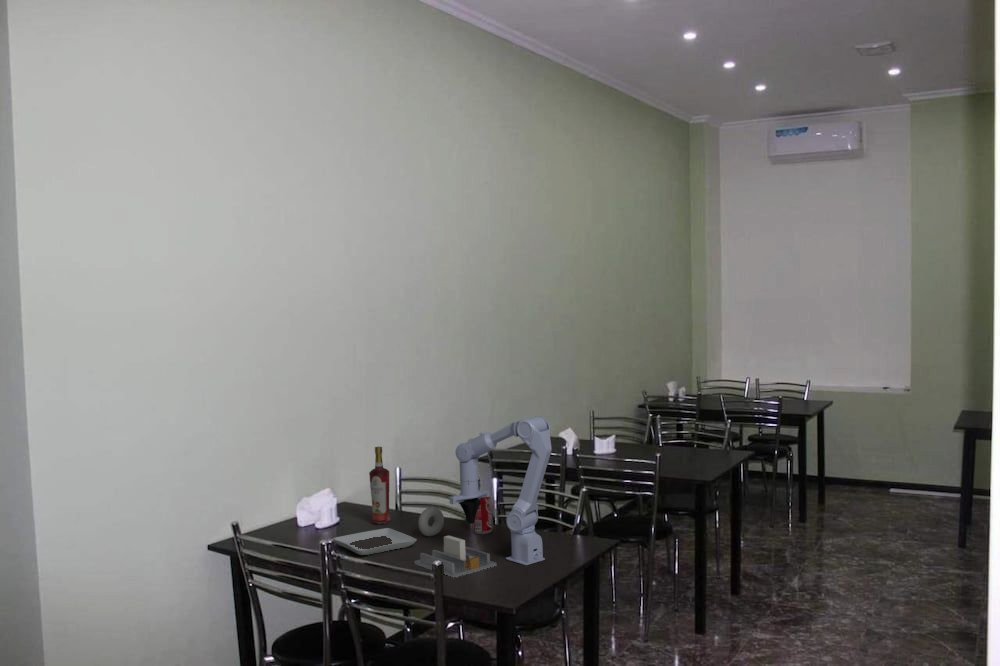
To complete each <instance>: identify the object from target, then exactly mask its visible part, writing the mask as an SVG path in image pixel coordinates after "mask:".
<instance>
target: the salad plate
mask: <svg viewBox="0 0 1000 666" xmlns="http://www.w3.org/2000/svg"><path fill="white" fill-rule="evenodd" d="M381 536H386V537H387V538H390V539H391V540H392V541H391V542H392V544H388V545H383V546H379V547H374V548H370V549H362V548H361V549H360V548H359V549H358V547H355V545H350V543H352V542H355V541H359V540H365V539H369V538H373V537H381ZM332 540H333V542H334V543H336V544H337V545H339V546H341V547H343V548H345V549H347V550H349V551H351V552H354V553H355V554H357V555H360V556H363V555H368V556H370V555H369V554H373V553H379V552H384V551H388V552H390V551H389V550H393V551H395V550H394V549H398V550H401V549H400V548H402V549H406V548H409V547H410V546H413V544H415V543H416V542H417V538H415V537H413V536H410V535H408V534H406V533H403V532H400V531H398V530H395V529H393V528H389V527H385V528H380V529H372V530H367V531H362V532H356V533H352V534H347V535H341V536H336V537H333V538H332ZM384 553H385V552H384ZM379 554H380V553H379Z"/></svg>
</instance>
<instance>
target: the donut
mask: <svg viewBox="0 0 1000 666" xmlns="http://www.w3.org/2000/svg"><path fill="white" fill-rule="evenodd" d="M431 518H433V523H432V525H429V521H430V519H431ZM444 521H445V517H444V513H443V512H442V511H441V509H439V507H438V508H437V507H436V506H429V507H426V508H425V509H424V510H423V511H422V512H421V513H420V515H419V518H418V521H417V522H418V523H417V524H418V529H419V531H420V533H421V534H422V535H424V536H425V537H426V536H427V537H434V536H436V535H438V534H439V533H440V532H441V530H442V529H443V527H444V524H445V522H444Z"/></svg>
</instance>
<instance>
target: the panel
mask: <svg viewBox="0 0 1000 666" xmlns="http://www.w3.org/2000/svg"><path fill="white" fill-rule="evenodd" d="M465 546H466V540H465V539H463V538H460V537H456V536H452V535H445V536H443V547H444V550H443V553H446V554H449V555H452V556H456V557H459V558H462V559H465V560H466V553H465Z"/></svg>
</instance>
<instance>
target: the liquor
mask: <svg viewBox="0 0 1000 666" xmlns="http://www.w3.org/2000/svg"><path fill="white" fill-rule="evenodd" d="M374 454H375V462H374V464H375V465H374V468H373V469H371V470H370V471H369V473H368V474H369V483H370V485H369V486H370V487H369V488H370V495H371V507H372V519H371V521H372V522H373V521H375V522H386V521H389V520H390V521H391V517H390V470H388V469H387V468H385V467H384V463H383V446H375V447H374ZM390 521H389V522H390Z"/></svg>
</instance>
